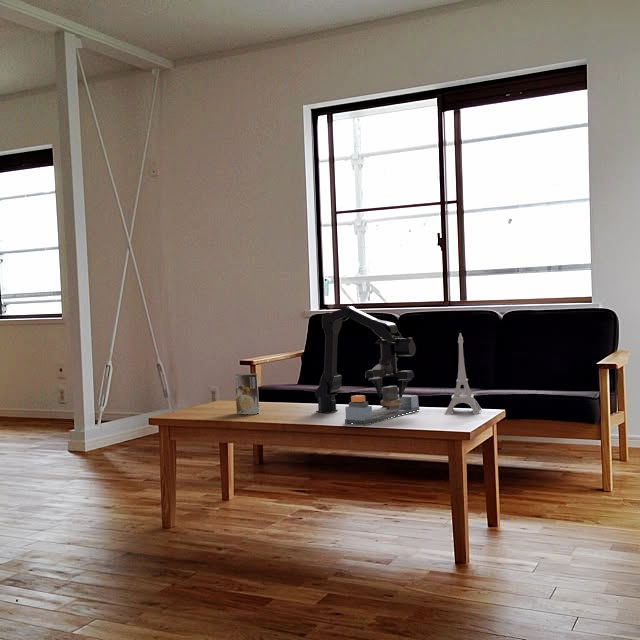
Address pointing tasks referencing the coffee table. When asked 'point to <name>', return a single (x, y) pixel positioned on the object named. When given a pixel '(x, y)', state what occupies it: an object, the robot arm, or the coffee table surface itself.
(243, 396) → the coffee box
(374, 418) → the rail
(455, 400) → the eiffel tower
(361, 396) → the button
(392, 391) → the carriage
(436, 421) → the coffee table surface
